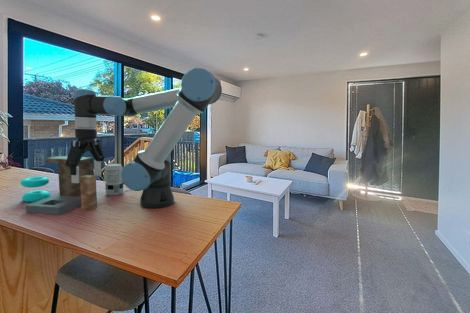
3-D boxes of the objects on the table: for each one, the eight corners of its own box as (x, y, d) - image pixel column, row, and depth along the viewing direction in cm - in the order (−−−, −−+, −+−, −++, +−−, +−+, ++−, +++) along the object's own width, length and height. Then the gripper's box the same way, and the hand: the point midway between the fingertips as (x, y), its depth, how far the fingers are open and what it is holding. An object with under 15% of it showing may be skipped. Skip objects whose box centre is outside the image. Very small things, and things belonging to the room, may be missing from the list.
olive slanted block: (94, 198, 114) (93, 157, 112) (82, 204, 106) (79, 160, 103) (63, 196, 116) (60, 155, 113) (48, 202, 107) (45, 158, 105)
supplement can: (102, 193, 122) (101, 165, 120) (116, 190, 130) (116, 163, 128) (112, 196, 119) (111, 167, 117) (126, 192, 126) (126, 164, 124)
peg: (97, 206, 104) (95, 175, 102) (90, 210, 100) (89, 177, 98) (88, 206, 104) (86, 174, 102) (81, 209, 100) (80, 176, 98)
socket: (84, 203, 108) (84, 196, 107) (59, 214, 94) (58, 207, 93) (55, 201, 109) (54, 195, 108) (26, 212, 95) (25, 205, 94)
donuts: (52, 175, 115) (42, 180, 106) (54, 195, 116) (44, 202, 107) (27, 176, 112) (15, 181, 103) (29, 196, 114) (17, 203, 104)
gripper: (97, 127, 110) (98, 172, 113) (51, 128, 86) (54, 185, 88) (112, 128, 110) (113, 173, 113) (71, 129, 85) (73, 187, 88)
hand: (87, 179), depth 101 cm, fingers open, 13 cm apart
